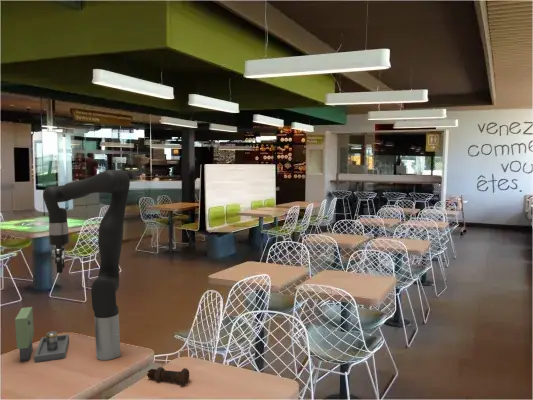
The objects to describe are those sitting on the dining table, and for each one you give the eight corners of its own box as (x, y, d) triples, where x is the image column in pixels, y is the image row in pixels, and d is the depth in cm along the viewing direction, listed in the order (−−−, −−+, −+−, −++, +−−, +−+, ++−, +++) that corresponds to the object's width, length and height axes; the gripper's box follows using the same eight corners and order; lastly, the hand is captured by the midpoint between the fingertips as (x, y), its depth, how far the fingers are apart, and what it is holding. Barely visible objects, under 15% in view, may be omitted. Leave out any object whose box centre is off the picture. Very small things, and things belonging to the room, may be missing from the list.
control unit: (36, 348, 194) (33, 306, 193) (31, 362, 181) (28, 317, 180) (23, 349, 193) (20, 308, 191) (17, 364, 180) (14, 319, 178)
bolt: (150, 382, 168) (187, 386, 164) (143, 381, 164) (181, 385, 160) (154, 365, 171) (190, 369, 166) (147, 364, 166) (184, 367, 162)
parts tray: (69, 339, 203) (68, 334, 203) (65, 358, 184) (64, 352, 184) (41, 343, 200) (41, 337, 199) (34, 362, 181) (34, 356, 181)
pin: (58, 346, 194) (57, 330, 194) (57, 350, 190) (56, 334, 190) (47, 347, 193) (46, 331, 193) (46, 351, 189) (45, 335, 189)
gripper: (67, 235, 190) (69, 273, 191) (69, 229, 203) (71, 265, 205) (46, 236, 187) (49, 275, 189) (51, 230, 201) (53, 267, 202)
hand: (60, 270), depth 197 cm, fingers open, 8 cm apart
